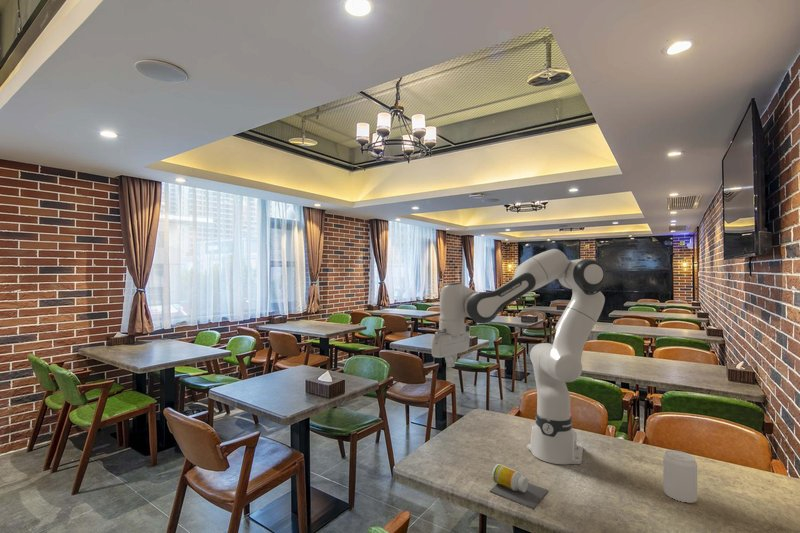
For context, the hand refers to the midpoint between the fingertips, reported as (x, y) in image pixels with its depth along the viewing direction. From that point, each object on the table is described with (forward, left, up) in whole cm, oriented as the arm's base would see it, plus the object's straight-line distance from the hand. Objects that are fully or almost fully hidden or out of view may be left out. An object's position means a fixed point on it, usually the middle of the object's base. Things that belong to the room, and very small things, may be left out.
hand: (450, 366), depth 138 cm
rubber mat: (+6, +28, -31) cm, 42 cm away
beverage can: (-23, +65, -31) cm, 76 cm away
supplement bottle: (+6, +20, -28) cm, 35 cm away
